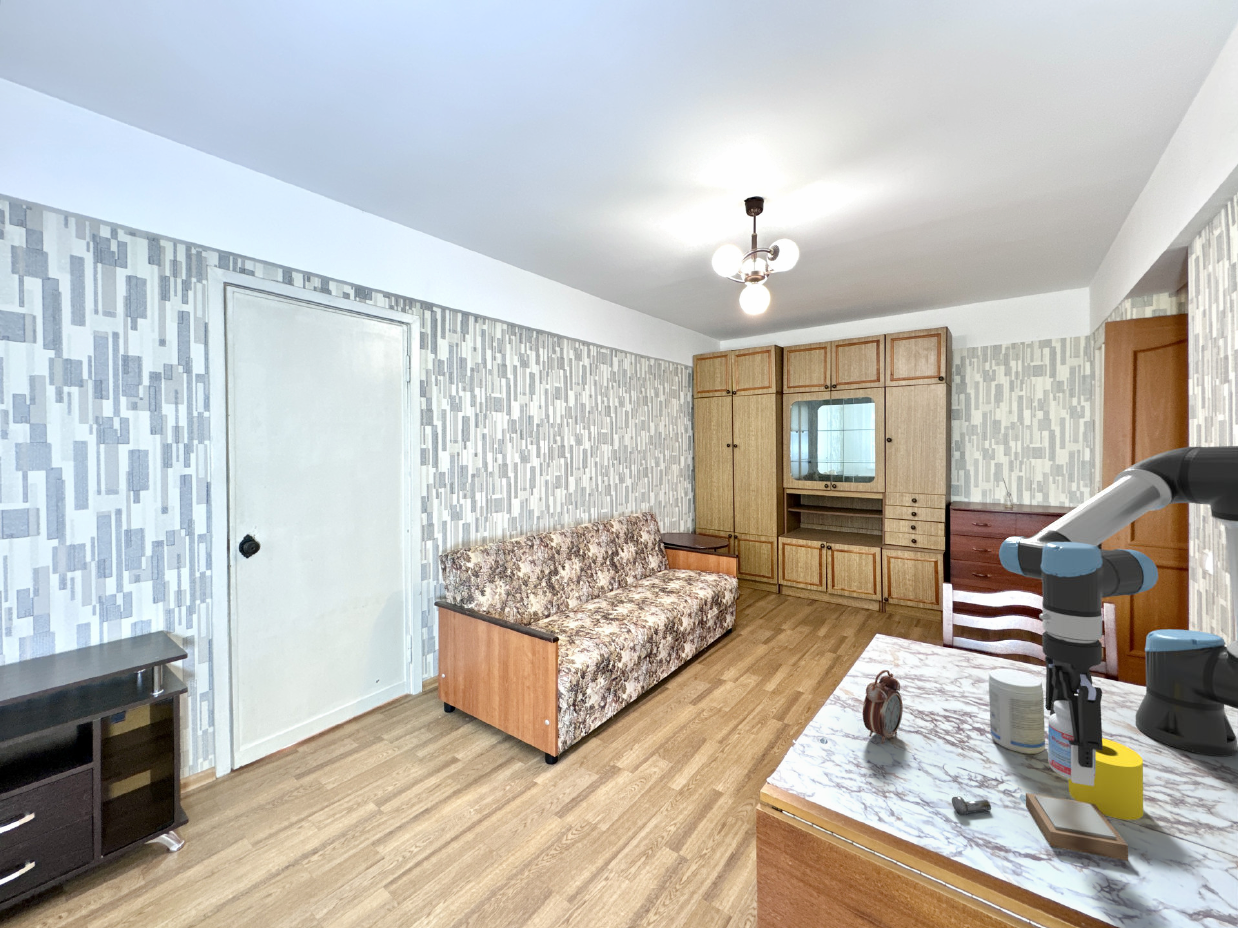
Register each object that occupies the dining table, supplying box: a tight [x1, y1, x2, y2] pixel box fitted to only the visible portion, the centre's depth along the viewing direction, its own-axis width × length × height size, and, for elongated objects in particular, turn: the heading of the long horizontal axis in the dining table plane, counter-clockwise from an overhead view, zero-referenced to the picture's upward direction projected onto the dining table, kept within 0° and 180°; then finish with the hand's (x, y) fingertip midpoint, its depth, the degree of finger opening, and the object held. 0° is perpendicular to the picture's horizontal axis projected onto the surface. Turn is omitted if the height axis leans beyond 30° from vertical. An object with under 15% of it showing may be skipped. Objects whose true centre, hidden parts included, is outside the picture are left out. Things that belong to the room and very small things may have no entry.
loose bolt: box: [951, 795, 992, 815], centre depth 93 cm, size 6×3×3 cm, turn 95°
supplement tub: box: [988, 668, 1046, 755], centre depth 113 cm, size 10×10×15 cm
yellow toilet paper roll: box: [1067, 737, 1144, 821], centre depth 95 cm, size 10×10×9 cm
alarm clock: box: [862, 669, 904, 745], centre depth 118 cm, size 11×5×15 cm, turn 128°
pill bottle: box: [1047, 700, 1096, 779], centre depth 87 cm, size 6×6×11 cm
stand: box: [1025, 792, 1129, 862], centre depth 88 cm, size 10×10×3 cm
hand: (1072, 770), depth 87 cm, fingers closed on pill bottle, 6 cm apart
